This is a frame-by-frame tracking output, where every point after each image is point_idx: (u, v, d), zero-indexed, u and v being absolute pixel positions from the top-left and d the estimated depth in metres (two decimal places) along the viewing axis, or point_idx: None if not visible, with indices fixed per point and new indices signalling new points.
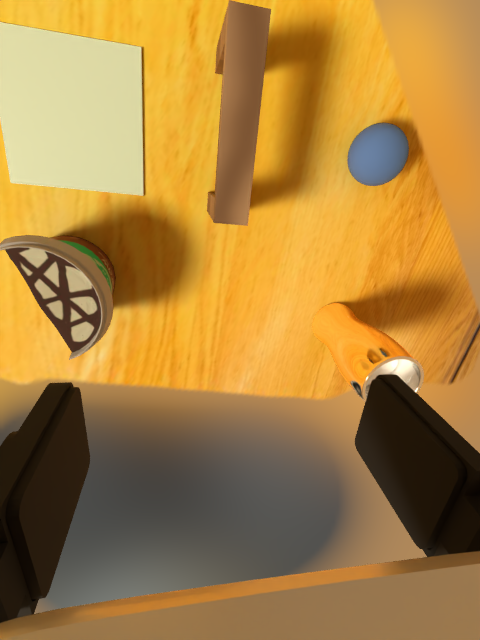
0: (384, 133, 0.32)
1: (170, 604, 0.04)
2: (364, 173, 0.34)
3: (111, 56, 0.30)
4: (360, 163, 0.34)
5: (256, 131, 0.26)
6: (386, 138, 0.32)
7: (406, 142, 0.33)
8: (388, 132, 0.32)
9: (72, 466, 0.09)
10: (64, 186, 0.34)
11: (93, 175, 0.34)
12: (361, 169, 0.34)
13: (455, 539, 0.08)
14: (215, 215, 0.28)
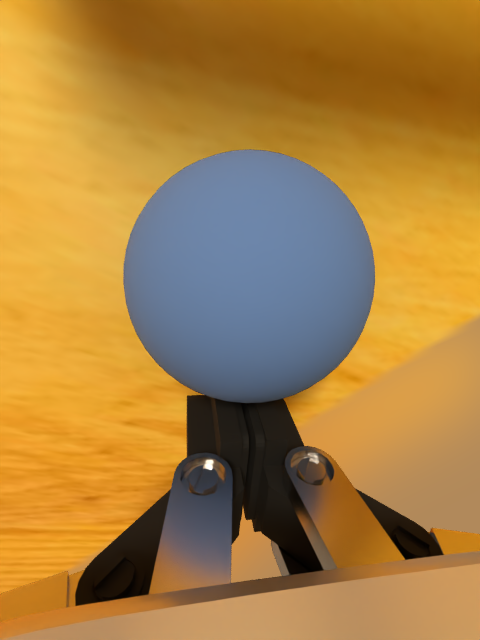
0: (355, 221, 0.06)
1: (169, 605, 0.04)
2: (172, 177, 0.07)
3: None
4: (215, 155, 0.07)
5: None
6: (340, 219, 0.06)
7: (325, 353, 0.06)
8: (361, 240, 0.06)
9: None
10: None
11: None
12: (188, 166, 0.07)
13: (261, 508, 0.08)
14: None
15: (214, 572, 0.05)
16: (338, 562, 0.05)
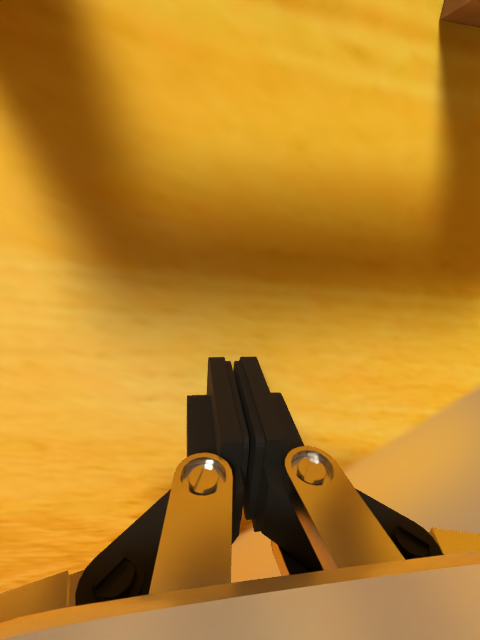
0: None
1: (169, 605, 0.04)
2: None
3: None
4: None
5: None
6: None
7: None
8: None
9: None
10: None
11: None
12: None
13: (261, 507, 0.08)
14: None
15: (214, 572, 0.05)
16: (338, 562, 0.05)
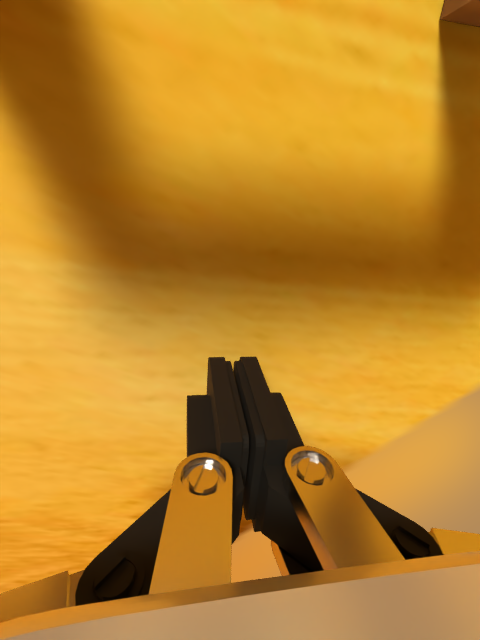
0: None
1: (169, 605, 0.04)
2: None
3: None
4: None
5: None
6: None
7: None
8: None
9: None
10: None
11: None
12: None
13: (261, 507, 0.08)
14: None
15: (214, 572, 0.05)
16: (338, 562, 0.05)
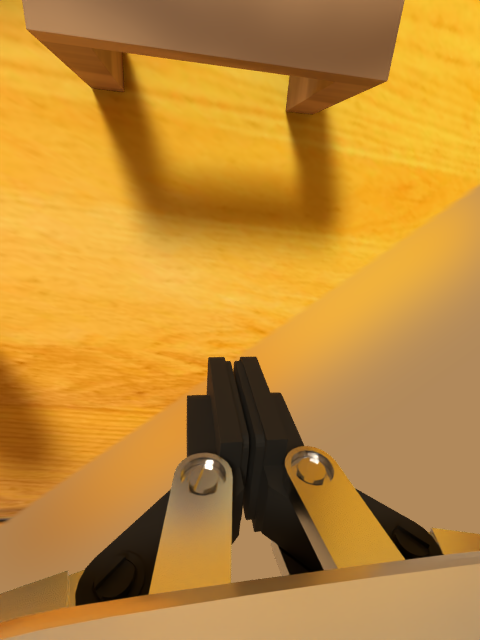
0: None
1: (169, 605, 0.04)
2: None
3: None
4: None
5: (220, 53, 0.14)
6: None
7: None
8: None
9: None
10: None
11: None
12: None
13: (261, 508, 0.08)
14: None
15: (214, 572, 0.05)
16: (338, 562, 0.05)
